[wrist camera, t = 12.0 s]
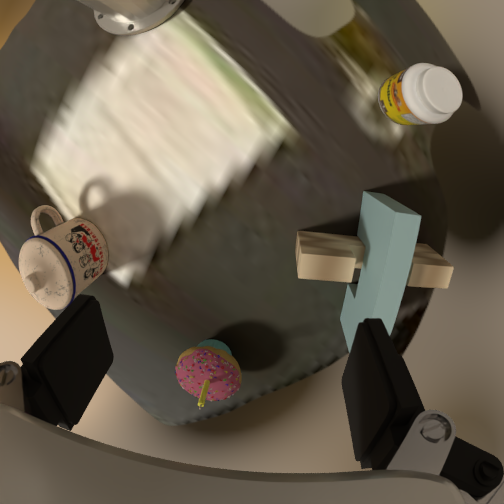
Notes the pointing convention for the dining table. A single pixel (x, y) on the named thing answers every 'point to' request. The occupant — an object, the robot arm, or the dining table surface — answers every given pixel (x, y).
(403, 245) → the teal slotted plate
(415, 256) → the birch slotted plate
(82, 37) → the dining table surface
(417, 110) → the supplement bottle
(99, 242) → the teacup with lid
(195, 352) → the cupcake
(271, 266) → the dining table surface
